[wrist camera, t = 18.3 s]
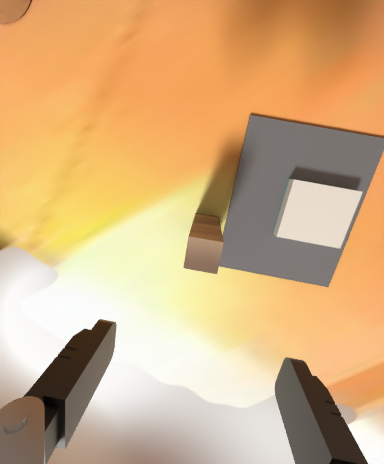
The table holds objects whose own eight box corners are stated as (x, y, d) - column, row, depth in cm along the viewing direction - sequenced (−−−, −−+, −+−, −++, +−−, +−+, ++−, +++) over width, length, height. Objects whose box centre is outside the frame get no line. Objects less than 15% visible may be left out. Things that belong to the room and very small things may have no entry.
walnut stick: (195, 213, 33) (188, 236, 21) (218, 217, 33) (223, 242, 21) (192, 234, 34) (183, 268, 22) (214, 238, 34) (216, 274, 22)
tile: (293, 179, 28) (362, 191, 28) (288, 178, 30) (352, 190, 30) (276, 236, 30) (340, 248, 30) (272, 232, 32) (332, 243, 32)
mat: (249, 115, 29) (250, 114, 28) (385, 139, 28) (388, 139, 28) (216, 264, 35) (216, 265, 34) (326, 285, 34) (328, 287, 34)
